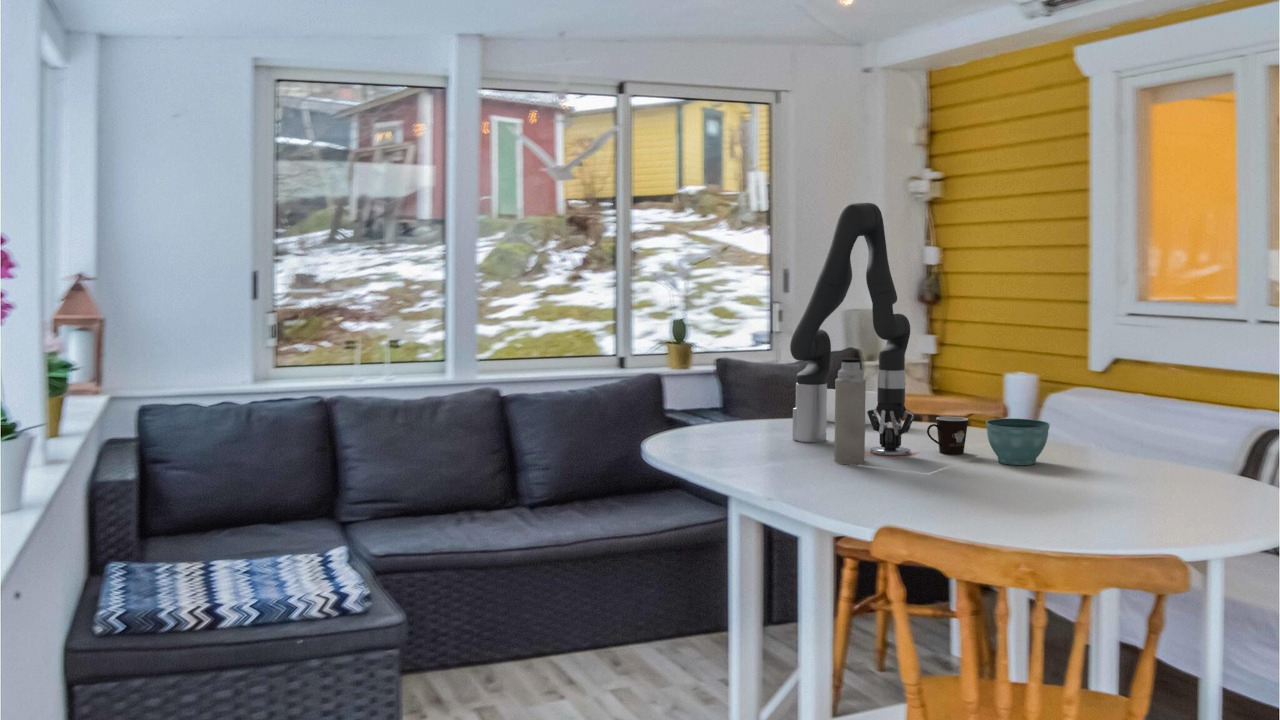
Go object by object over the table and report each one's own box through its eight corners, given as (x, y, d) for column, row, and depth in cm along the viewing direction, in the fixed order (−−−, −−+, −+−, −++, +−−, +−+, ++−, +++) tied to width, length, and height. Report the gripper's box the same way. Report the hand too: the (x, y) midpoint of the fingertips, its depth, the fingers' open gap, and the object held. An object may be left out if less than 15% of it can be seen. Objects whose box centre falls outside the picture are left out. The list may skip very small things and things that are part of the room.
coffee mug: (964, 451, 324) (965, 416, 323) (970, 457, 316) (971, 421, 315) (922, 451, 326) (923, 416, 325) (927, 456, 317) (927, 420, 316)
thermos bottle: (837, 458, 314) (838, 356, 312) (866, 460, 312) (868, 357, 309) (831, 463, 307) (833, 359, 304) (862, 465, 304) (863, 360, 301)
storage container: (896, 426, 374) (897, 392, 373) (886, 431, 364) (887, 396, 363) (823, 421, 386) (824, 388, 385) (811, 425, 376) (812, 392, 375)
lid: (863, 453, 320) (863, 428, 319) (881, 448, 328) (881, 424, 327) (899, 457, 313) (899, 432, 312) (917, 452, 321) (917, 427, 321)
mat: (860, 455, 319) (860, 453, 319) (880, 449, 329) (880, 448, 329) (900, 459, 312) (900, 458, 312) (919, 453, 321) (919, 452, 321)
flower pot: (1017, 470, 296) (1018, 428, 295) (972, 460, 311) (973, 420, 310) (1062, 464, 304) (1063, 424, 303) (1016, 455, 318) (1017, 416, 317)
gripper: (862, 385, 320) (861, 446, 322) (908, 389, 311) (907, 451, 313) (874, 383, 326) (873, 443, 328) (920, 386, 317) (919, 448, 319)
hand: (890, 447), depth 320 cm, fingers closed on lid, 3 cm apart
